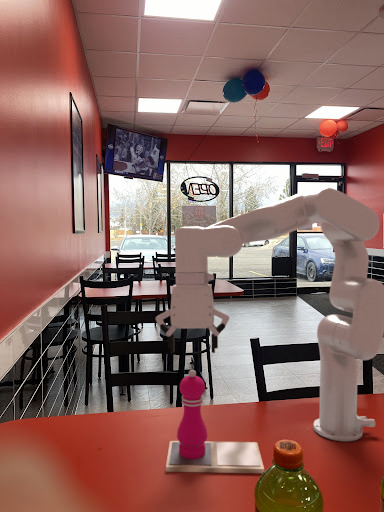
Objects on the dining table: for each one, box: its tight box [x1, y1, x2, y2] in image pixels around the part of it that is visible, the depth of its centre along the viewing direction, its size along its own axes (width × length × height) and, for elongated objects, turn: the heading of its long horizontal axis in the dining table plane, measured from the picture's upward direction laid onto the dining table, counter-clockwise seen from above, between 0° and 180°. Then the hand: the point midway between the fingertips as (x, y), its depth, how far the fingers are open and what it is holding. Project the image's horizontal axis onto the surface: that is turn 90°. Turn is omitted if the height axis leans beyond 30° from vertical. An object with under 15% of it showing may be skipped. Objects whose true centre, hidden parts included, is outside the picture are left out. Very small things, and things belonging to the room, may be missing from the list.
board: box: [165, 440, 265, 474], centre depth 98 cm, size 22×12×1 cm, turn 88°
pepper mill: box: [176, 369, 208, 459], centre depth 98 cm, size 7×7×20 cm
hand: (192, 351), depth 97 cm, fingers open, 9 cm apart
